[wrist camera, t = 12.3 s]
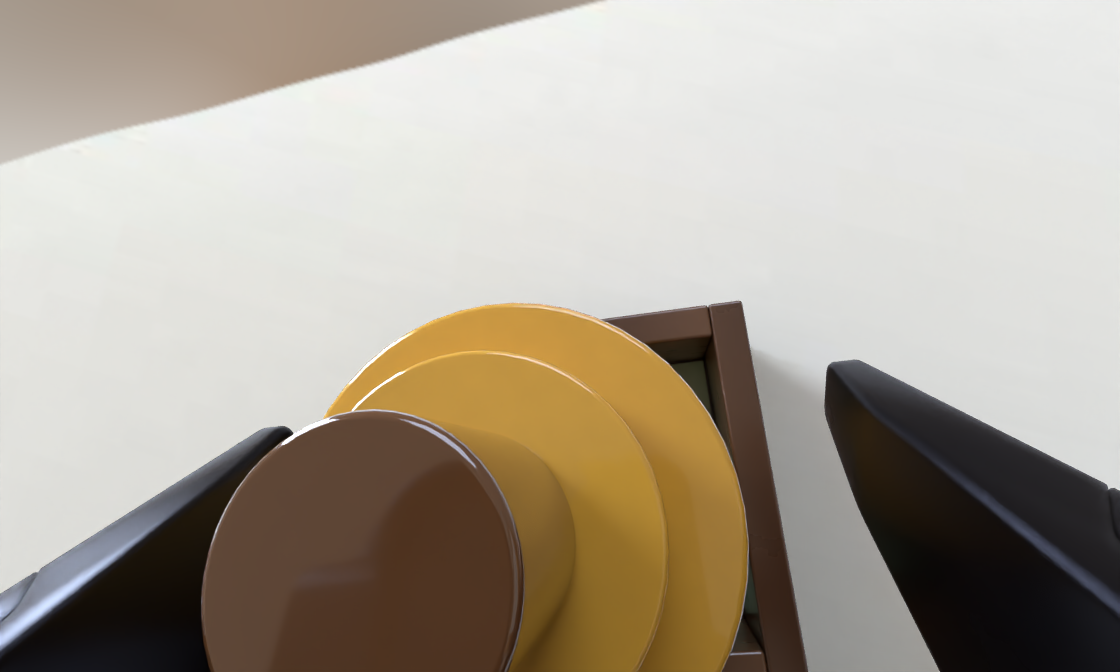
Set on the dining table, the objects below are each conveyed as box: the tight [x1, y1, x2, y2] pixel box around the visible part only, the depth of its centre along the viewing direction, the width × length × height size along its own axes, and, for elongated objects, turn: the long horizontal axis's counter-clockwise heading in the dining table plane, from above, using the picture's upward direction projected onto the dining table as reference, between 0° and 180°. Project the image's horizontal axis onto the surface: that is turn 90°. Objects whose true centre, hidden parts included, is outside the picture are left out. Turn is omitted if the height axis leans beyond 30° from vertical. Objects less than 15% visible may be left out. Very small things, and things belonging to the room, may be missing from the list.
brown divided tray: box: [600, 301, 808, 672], centre depth 14 cm, size 8×16×4 cm, turn 5°
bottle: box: [201, 303, 749, 672], centre depth 9 cm, size 5×5×13 cm
